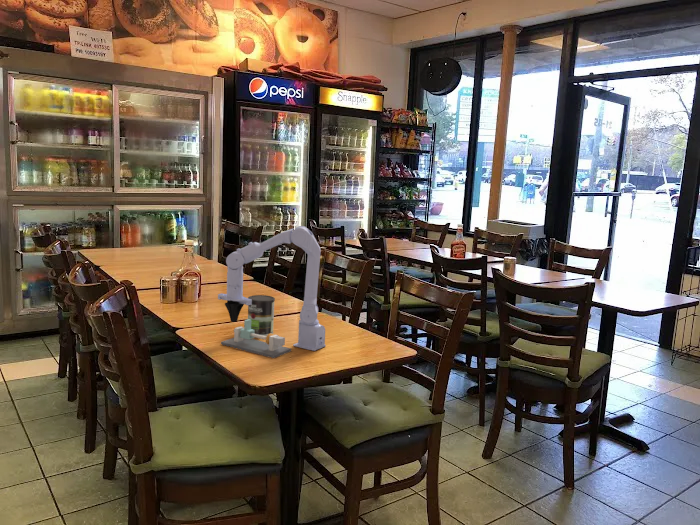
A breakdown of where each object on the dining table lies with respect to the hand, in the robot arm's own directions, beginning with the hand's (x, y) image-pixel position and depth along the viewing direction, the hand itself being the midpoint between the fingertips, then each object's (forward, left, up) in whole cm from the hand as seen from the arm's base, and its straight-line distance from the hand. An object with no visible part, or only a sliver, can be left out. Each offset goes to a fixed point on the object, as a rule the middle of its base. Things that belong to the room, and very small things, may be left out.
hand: (234, 321), depth 204 cm
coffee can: (0, -16, -8) cm, 18 cm away
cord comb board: (-11, 0, -8) cm, 13 cm away
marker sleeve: (-6, 0, -5) cm, 8 cm away
